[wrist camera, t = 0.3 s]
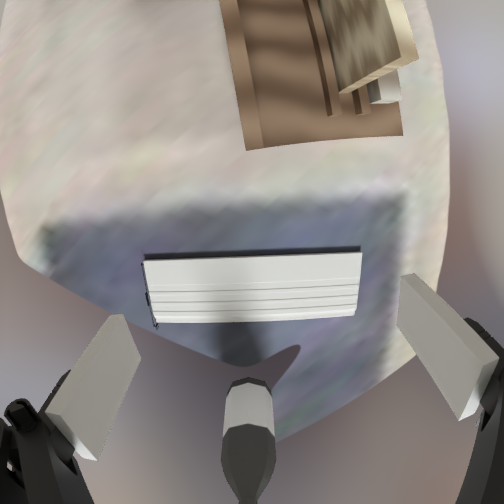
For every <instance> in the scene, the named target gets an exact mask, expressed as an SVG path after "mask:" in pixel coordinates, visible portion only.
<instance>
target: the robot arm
mask: <svg viewBox="0 0 504 504" xmlns="http://www.w3.org/2000/svg"><path fill="white" fill-rule="evenodd" d="M397 326H398V328H399V329H400V331H401V332H402V334H403V335H404V336H405V338H406V339H407V341H408V342H409V344H410V345H411V347H412V348H413V350H414V351H415V353H416V354H417V355H418V357H419V358H420V360H421V361H422V363H423V364H424V366H425V367H426V369H427V371H428V372H429V374H430V375H431V377H432V378H433V380H434V381H435V383H436V385H437V386H438V388H439V389H440V391H441V392H442V394H443V396H444V397H445V399H446V401H447V402H448V404H449V405H450V407H451V409H452V410H453V412H454V414H455V415H456V417H457V419H458V420H461V419H464V418H466V417H468V416H470V415H472V414H474V413H475V411H476V409H477V407H478V405H479V403H481V405H482V406H483V408H484V410H483V412H482V413H481V415H480V417H479V419H478V420H477V422H476V424H475V427H477V426H478V424H479V427H478V432H477V436H476V440H475V444H474V448H473V452H472V456H471V459H470V463H469V466H468V469H467V473H466V476H465V479H464V482H463V485H462V487H461V490H460V493H459V496H458V498H457V501H456V504H504V349H503V348H502V347H501V346H500V344H499V343H498V342H497V341H496V340H495V339H494V338H493V337H491V335H490V334H489V333H488V332H487V331H485V329H484V328H483V327H482V326H480V324H479V323H477V322H475V321H474V320H472V319H470V318H465V319H462V318H461V317H460V316H459V315H458V314H457V313H456V312H455V311H454V310H453V309H452V308H451V307H450V306H449V305H448V304H447V303H446V302H445V301H444V300H443V299H442V298H441V297H440V296H439V295H438V294H437V293H435V292H434V291H433V290H432V289H431V288H430V287H429V286H428V285H427V284H426V283H425V282H424V281H423V280H421V279H420V278H419V277H418V276H417V275H416V274H415V273H414V274H409V275H404V276H401V282H400V296H399V307H398V317H397ZM140 360H141V357H140V355H139V353H138V350H137V348H136V346H135V343H134V341H133V338H132V336H131V333H130V331H129V328H128V326H127V324H126V321H125V318H124V315H123V314H118V315H110V316H109V317H108V319H107V320H106V321H105V323H104V324H103V325H102V327H101V328H100V329H99V331H98V332H97V334H96V335H95V336H94V338H93V340H92V341H91V342H90V344H89V345H88V346H87V348H86V349H85V351H84V352H83V354H82V355H81V357H80V358H79V360H78V361H77V362H76V364H75V365H74V367H73V369H72V370H69V371H68V372H66V374H64V375H63V376H62V377H61V378H60V380H59V381H58V383H57V384H56V386H55V387H54V389H53V390H52V393H50V395H49V396H48V398H47V400H46V401H45V403H44V404H43V406H42V407H41V409H40V411H39V412H38V413H37V412H36V411H35V409H34V408H33V406H32V405H31V404H30V402H29V401H28V400H26V399H22V398H21V399H17V400H15V401H13V402H11V403H10V404H9V405H8V406H7V408H6V410H5V412H4V416H5V417H6V418H7V420H8V421H9V422H10V423H11V425H12V426H8V425H7V424H6V423H5V422H4V420H3V419H2V418H0V504H94V502H93V500H92V497H91V495H90V493H89V490H88V489H87V486H86V483H85V481H84V478H83V476H82V473H81V471H80V468H79V466H78V463H77V461H76V459H75V458H74V456H73V452H74V450H76V451H77V452H78V453H79V454H80V455H81V456H82V457H83V458H86V459H91V460H95V461H98V460H99V457H100V455H101V452H102V450H103V447H104V445H105V442H106V439H107V437H108V435H109V432H110V430H111V427H112V425H113V422H114V420H115V417H116V415H117V413H118V410H119V407H120V405H121V403H122V401H123V399H124V396H125V394H126V392H127V389H128V387H129V385H130V382H131V380H132V378H133V376H134V373H135V371H136V369H137V367H138V365H139V362H140ZM7 462H9V463H10V464H11V465H12V471H10V470H9V469H8V468H7Z"/></svg>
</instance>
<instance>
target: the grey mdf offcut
mask: <svg viewBox="0 0 504 504" xmlns="http://www.w3.org/2000/svg"><path fill="white" fill-rule="evenodd" d="M366 86H367V91H368V96H369V102H370V104H377V103H393V102H397V101H401V100H403V99H402V93H401V88H400V82H399V77H398V73H397V69H396V70H394V71H392V72H389V73H387V74H385V75H383V76H381V77H379V78H377V79H375V80H373V81H371V82H369V83H367V84H366Z"/></svg>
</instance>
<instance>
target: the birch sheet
mask: <svg viewBox="0 0 504 504" xmlns="http://www.w3.org/2000/svg"><path fill="white" fill-rule="evenodd" d="M317 2H318V6H319V9H320V13H321V16H322V20H323V24H324V28H325V32H326V36H327V40H328V44H329V49H330V53H331V57H332V62H333V67H334V71H335V76H336V82H337V87H338V92H339V94H341V93H350V92H352V91H353V90H355V89H357V88H359V87H361V86H363V85H365V84H367V83H369V82H371V81H373V80H375V79H377V78H379V77H381V76H383V75H385V74H387V73H389V72H392V71H394V70H396V69H398V68H400V67H402V66H404V65H407V64H409V63H411V62H413V61H415V60H418V59H419V57H418V53H417V49H416V45H415V41H414V38H413V34H412V31H411V27H410V24H409V21H408V18H407V15H406V11H405V8H404V6H403V3H402V0H317Z"/></svg>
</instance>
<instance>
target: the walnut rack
mask: <svg viewBox="0 0 504 504" xmlns="http://www.w3.org/2000/svg"><path fill="white" fill-rule="evenodd" d="M219 1H220V6H221V11H222V17H223V22H224V28H225V33H226V39H227V44H228V50H229V56H230V61H231V67H232V72H233V78H234V84H235V90H236V95H237V101H238V107H239V113H240V118H241V124H242V130H243V136H244V142H245V148H246V151H248V150H254V149H261V148H267V147H274V146H281V145H289V144H297V143H306V142H315V141H325V140H336V139H348V138H363V137H381V136H403V130H402V122H401V115H400V109H399V103H398V101H397V102H393V103H377V104H370V102H369V96H368V91H367V86H366V84H365V85H363V86H361V87H359V88H357V89H355V90H353V91H352V92H350V93H341V94H339V92H338V87H337V82H336V76H335V71H334V67H333V62H332V57H331V53H330V49H329V44H328V40H327V36H326V32H325V28H324V24H323V20H322V16H321V13H320V9H319V6H318V2H317V0H219Z"/></svg>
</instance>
